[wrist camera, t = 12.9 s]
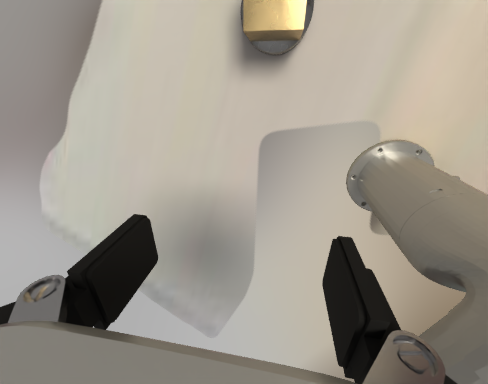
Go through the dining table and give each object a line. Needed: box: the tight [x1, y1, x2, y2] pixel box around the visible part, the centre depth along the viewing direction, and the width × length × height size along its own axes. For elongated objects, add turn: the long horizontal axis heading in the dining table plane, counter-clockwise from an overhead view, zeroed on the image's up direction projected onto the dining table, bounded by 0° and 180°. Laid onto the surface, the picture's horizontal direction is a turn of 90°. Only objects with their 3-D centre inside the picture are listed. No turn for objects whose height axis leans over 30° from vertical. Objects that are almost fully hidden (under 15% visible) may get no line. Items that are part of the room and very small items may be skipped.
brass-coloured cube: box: [243, 0, 307, 41], centre depth 24 cm, size 6×6×6 cm
